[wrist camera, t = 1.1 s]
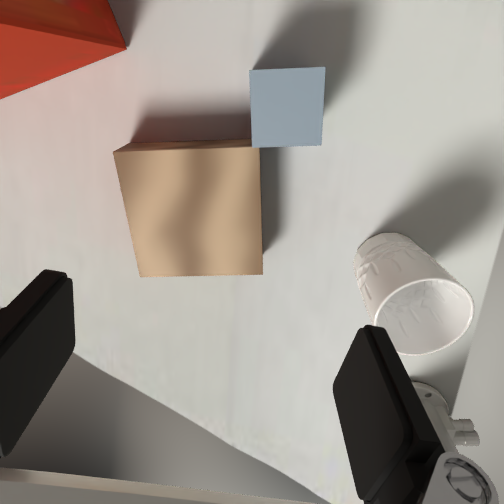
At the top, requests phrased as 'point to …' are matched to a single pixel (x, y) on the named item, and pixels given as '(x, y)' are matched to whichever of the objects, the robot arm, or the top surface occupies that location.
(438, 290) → the white cup
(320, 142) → the block
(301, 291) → the top surface
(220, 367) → the top surface
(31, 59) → the file binder
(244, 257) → the pedestal
